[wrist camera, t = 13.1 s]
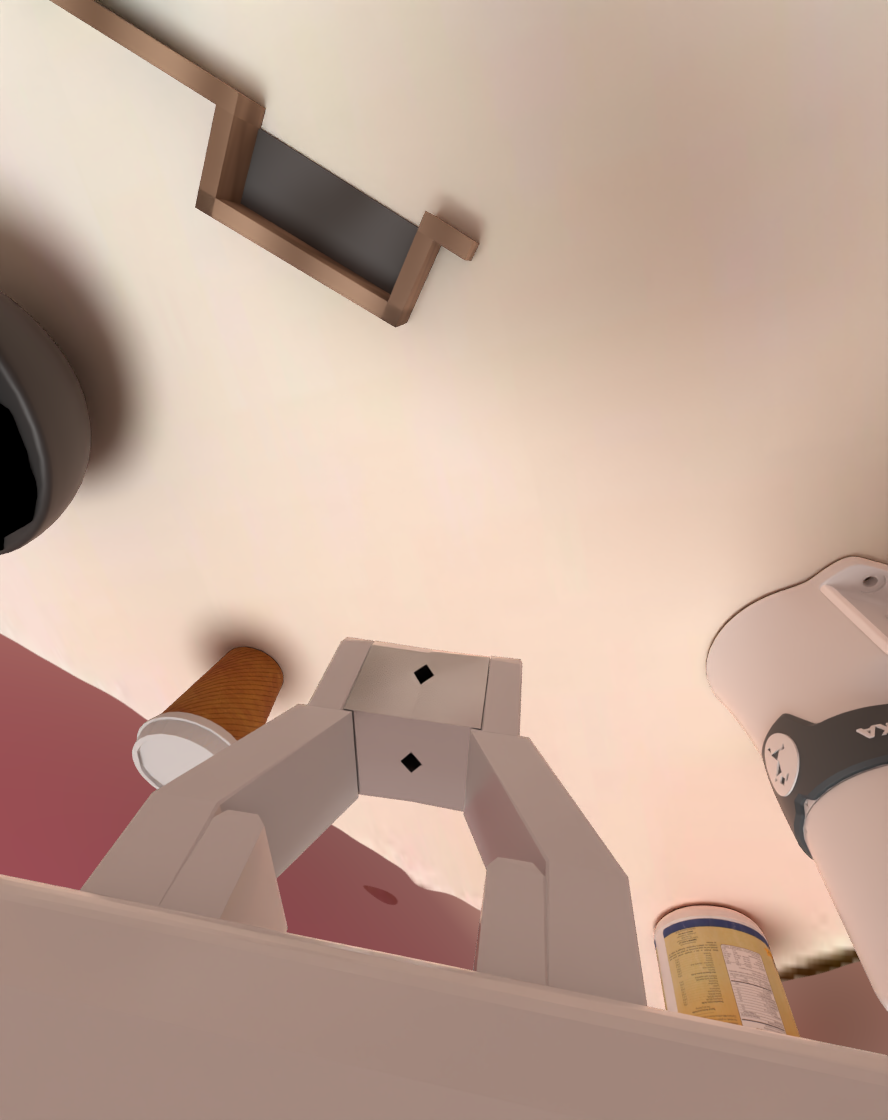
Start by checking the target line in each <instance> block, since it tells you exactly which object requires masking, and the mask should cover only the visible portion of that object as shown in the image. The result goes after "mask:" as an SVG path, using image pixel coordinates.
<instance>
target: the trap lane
mask: <svg viewBox="0 0 888 1120" xmlns="http://www.w3.org/2000/svg"><path fill="white" fill-rule="evenodd" d="M50 1H52V2H53V3H55V4H56V5H58V6H60V7H61V8H63V9H64V10H66V11H68V12H69V13H71V14H72V15H74V16H76V17H77V18H79V19H80V20H82V21H84V22H85V23H87V24H88V25H90V26H92V27H93V28H95V29H96V30H98V31H100V32H101V33H103V34H104V35H106V36H108V37H109V38H111V39H112V40H114V41H116V42H117V43H119V44H120V45H122V46H124V47H125V48H127V49H128V50H130V51H132V52H133V53H135V54H136V55H138V56H140V57H141V58H143V59H144V60H146V61H148V62H149V63H151V64H152V65H154V66H155V67H157V68H159V69H160V70H162V71H163V72H165V73H167V74H168V75H170V76H171V77H173V78H175V79H176V80H178V81H179V82H181V83H183V84H184V85H186V86H187V87H189V88H191V89H192V90H194V91H195V92H197V93H199V94H200V95H202V96H203V97H205V98H207V99H208V100H210V101H211V102H213V103H215V104H216V108H215V113H214V118H213V123H212V127H211V132H210V137H209V142H208V147H207V152H206V157H205V162H204V167H203V171H202V176H201V181H200V186H199V191H198V196H197V201H196V206H195V208H197V209H199V210H200V211H202V212H204V213H205V214H207V215H209V216H211V217H212V218H214V219H216V220H217V221H219V222H221V223H222V224H224V225H226V226H227V227H229V228H231V229H232V230H234V231H236V232H237V233H239V234H241V235H242V236H244V237H246V238H247V239H249V240H251V241H252V242H254V243H256V244H257V245H259V246H261V247H262V248H264V249H266V250H267V251H269V252H271V253H272V254H274V255H276V256H277V257H279V258H281V259H282V260H284V261H286V262H287V263H289V264H291V265H292V266H294V267H296V268H297V269H299V270H301V271H302V272H304V273H306V274H307V275H309V276H311V277H312V278H314V279H316V280H317V281H319V282H321V283H322V284H324V285H326V286H327V287H329V288H331V289H332V290H334V291H336V292H337V293H339V294H341V295H342V296H344V297H346V298H347V299H349V300H351V301H352V302H354V303H356V304H357V305H359V306H361V307H362V308H364V309H366V310H367V311H369V312H371V313H372V314H374V315H376V316H377V317H379V318H381V319H382V320H384V321H386V322H387V323H389V324H391V325H392V326H394V327H398V326H400V325H403V324H405V323H407V321H408V319H409V317H410V314H411V312H412V310H413V308H414V305H415V303H416V301H417V299H418V296H419V294H420V292H421V290H422V287H423V285H424V283H425V281H426V278H427V276H428V274H429V271H430V269H431V267H432V265H433V262H434V260H435V258H436V256H437V253H438V251H439V249H440V247H441V245H442V246H443V247H445V248H446V249H448V250H449V251H451V252H453V253H454V254H456V255H457V256H459V257H461V258H462V259H464V260H469V261H471V260H472V258H473V256H474V254H475V252H476V250H477V247H478V245H479V243H478V242H476V241H474V240H473V239H471V238H470V237H468V236H467V235H465V234H463V233H462V232H460V231H459V230H457V229H455V228H454V227H452V226H451V225H449V224H448V223H446V222H444V221H443V220H441V219H440V218H438V217H437V216H435V215H433V214H431V213H429V212H427V211H425V213H424V216H423V218H422V221H421V223H420V225H419V228H418V227H416V226H415V225H413V224H412V223H410V222H408V221H407V220H405V219H404V218H402V217H400V216H399V215H397V214H396V213H394V212H392V211H391V210H389V209H388V208H386V207H385V206H383V205H381V204H380V203H378V202H377V201H375V200H373V199H372V198H370V197H369V196H367V195H365V194H364V193H362V192H361V191H359V190H357V189H356V188H354V187H353V186H351V185H349V184H348V183H346V182H345V181H343V180H341V179H340V178H338V177H337V176H335V175H333V174H332V173H330V172H329V171H327V170H325V169H324V168H322V167H321V166H319V165H317V164H316V163H314V162H313V161H311V160H309V159H308V158H306V157H305V156H303V155H302V154H300V153H298V152H297V151H295V150H294V149H292V148H290V147H289V146H287V145H286V144H284V143H282V142H281V141H279V140H278V139H276V138H274V137H273V136H271V135H270V134H268V133H266V132H265V131H263V130H262V129H261V125H262V121H263V116H264V112H265V108H264V107H262V106H261V105H259V104H258V103H256V102H255V101H253V100H251V99H250V98H248V97H247V96H245V95H244V94H242V93H240V92H239V91H237V90H236V89H234V88H232V87H231V86H229V85H228V84H226V83H225V82H223V81H221V80H220V79H218V78H217V77H215V76H213V75H212V74H210V73H209V72H207V71H206V70H204V69H202V68H201V67H199V66H198V65H196V64H194V63H193V62H191V61H190V60H188V59H187V58H185V57H183V56H182V55H180V54H179V53H177V52H175V51H174V50H172V49H171V48H169V47H168V46H166V45H164V44H163V43H161V42H160V41H158V40H157V39H155V38H153V37H152V36H150V35H149V34H147V33H145V32H144V31H142V30H141V29H139V28H138V27H136V26H134V25H133V24H131V23H130V22H128V21H126V20H125V19H123V18H122V17H120V16H119V15H117V14H115V13H114V12H112V11H111V10H109V9H107V8H106V7H104V6H103V5H101V4H100V3H98V2H96V1H95V0H50Z"/></svg>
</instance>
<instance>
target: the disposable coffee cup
mask: <svg viewBox="0 0 888 1120" xmlns="http://www.w3.org/2000/svg"><path fill="white" fill-rule="evenodd" d="M282 683H283V674H282V671H281V669H280V667H279V666H278V664H277V663H276V662H275V661H274V660H273V659H272V658H271V657H270V656H268V655H267V654H265V653H264V652H262V651H259V650H257V649H254V648H249V647H238V648H234V649H233V650H231V651H229V652H228V653H227V654H226V655H225V656H224V657H223V658H222V659H221V660H220V661H218V662H217V663H216V664H215V665H214V666H213V667H212V668H211V669H210V670H209V671H208V672H207V673H205V674H204V675H203V676H202V677H201V678H200V679H199V680H198V681H196V682H195V683H194V684H193V685H192V686H191V687H190V688H189V689H188V690H187V691H186V692H185V693H184V694H182V695H181V696H180V697H179V698H178V699H177V700H176V701H175V702H174V703H173V704H172V705H170V706H169V707H168V708H167V709H166V710H165V711H164V712H163V713H162V714H160V715H158V716H156V717H154V718H152V719H150V720H149V721H147V722H145V723H144V725H142V727H141V728H140V729H139V732H138V734H137V741H136V743H135V745H134V747H133V751H132V755H133V761H134V763H135V766H136V768H137V769H138V771H139V772H140V774H141V775H142V776H143V777H144V778H145V779H146V780H147V781H148V782H149V783H150V784H151V785H152V786H154V787H155V788H156V789H159V788H161V787H162V786H164V785H166V784H167V783H169V782H170V781H172V780H174V779H175V778H177V777H179V776H180V775H182V774H184V773H185V772H187V771H189V770H190V769H192V768H194V767H195V766H197V765H199V764H200V763H202V762H203V761H205V760H207V759H208V758H210V757H212V756H213V755H215V754H217V753H218V752H220V751H222V750H223V749H225V748H227V747H228V746H230V745H231V744H233V743H235V742H236V741H238V740H240V739H241V738H243V737H245V736H246V735H248V734H250V733H251V732H253V731H255V730H256V729H258V728H259V727H261V726H263V725H264V724H265V723H266V721H267V718H268V716H269V714H270V712H271V709H272V707H273V705H274V702H275V700H276V697H277V695H278V693H279V691H280V688H281V686H282Z"/></svg>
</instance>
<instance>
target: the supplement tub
mask: <svg viewBox="0 0 888 1120" xmlns="http://www.w3.org/2000/svg"><path fill="white" fill-rule="evenodd" d="M654 944H655V948H656V954H657V960H658V966H659V972H660V978H661V984H662V990H663V996H664V1002H665V1008H666V1010H668V1011H673V1012H678V1013H683V1014H687V1015H692V1016H697V1017H702V1018H707V1019H712V1020H717V1021H722V1022H727V1023H731V1024H736V1025H741V1026H746V1027H751V1028H756V1029H761V1030H766V1031H770V1032H775V1033H780V1034H785V1035H790V1036H795V1037H800V1036H799V1033H798V1030H797V1027H796V1024H795V1021H794V1018H793V1015H792V1012H791V1009H790V1006H789V1004H788V1001H787V998H786V995H785V992H784V989H783V986H782V983H781V980H780V977H779V974H778V971H777V968H776V966H775V963H774V960H773V957H772V954H771V951H770V948H769V944H768V941H767V939H766V937H765V936H764V934H763V932H762V931H761V929H760V928H759V927H758V926H757V925H756V924H755V923H754V922H753V921H752V920H751V919H749V918H748V917H747V916H745V915H743V914H741V913H739V912H737V911H734V910H731V909H728V908H723V907H717V906H705V905H703V906H689V907H684V908H680V909H677V910H675V911H673V912H671V913H669V914H667V915H666V916H665V917H663V918H662V919H661V920H660V921H659V923H658V924H657V926H656V928H655V933H654Z"/></svg>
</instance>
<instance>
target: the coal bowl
mask: <svg viewBox="0 0 888 1120" xmlns="http://www.w3.org/2000/svg"><path fill="white" fill-rule="evenodd" d="M90 446H91V428H90V419H89V414H88V409H87V405H86V401H85V397H84V395H83V392H82V389H81V386H80V384H79V382H78V380H77V377H76V375H75V374H74V372H73V370H72V368H71V366H70V364H69V363H68V361H67V359H66V358H65V356H64V355H63V353H62V352H61V351H60V349H59V348H58V346H57V345H56V344H55V343H54V341H53V340H52V339H51V338H50V336H49V335H48V334H47V333H46V332H45V331H44V329H43V328H42V327H41V326H40V325H39V324H38V323H37V322H36V321H35V320H34V319H33V318H32V317H31V316H30V315H29V314H28V313H27V312H26V311H25V310H23V309H22V308H21V307H20V306H19V305H18V304H16V303H15V302H14V301H13V300H12V299H10V298H9V297H8V296H6V295H5V294H4V293H2V292H1V291H0V555H1V554H5V553H9V552H12V551H14V550H17V549H19V548H21V547H23V546H24V545H26V544H27V543H29V542H30V541H32V540H33V539H35V538H36V537H38V536H39V535H40V534H42V533H43V532H44V531H45V530H46V529H47V528H48V527H50V526H51V525H52V524H53V523H54V522H55V521H56V520H57V519H58V518H59V517H60V516H61V514H62V513H63V512H64V511H65V509H66V508H67V507H68V505H69V504H70V502H71V501H72V500H73V498H74V496H75V494H76V493H77V491H78V489H79V487H80V485H81V483H82V480H83V478H84V475H85V472H86V469H87V465H88V461H89V455H90Z"/></svg>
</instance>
